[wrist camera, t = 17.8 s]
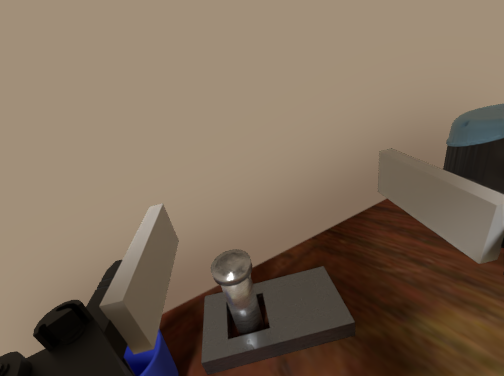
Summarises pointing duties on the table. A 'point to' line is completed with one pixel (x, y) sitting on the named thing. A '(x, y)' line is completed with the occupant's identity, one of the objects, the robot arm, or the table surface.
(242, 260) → the silver metal peg
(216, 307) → the jig
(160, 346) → the mug
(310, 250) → the table surface
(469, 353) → the table surface
